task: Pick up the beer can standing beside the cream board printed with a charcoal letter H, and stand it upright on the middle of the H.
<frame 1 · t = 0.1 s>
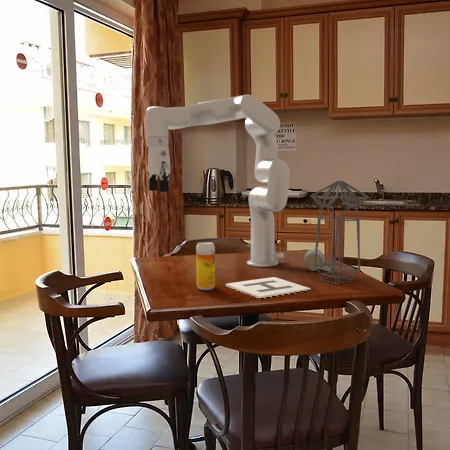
hand: (158, 191, 188), 31 cm above the table, tool pointing down, fingers open, 9 cm apart
beer can: (205, 288, 174), on the table
ceramic mug: (317, 270, 203), on the table
letter board: (267, 288, 173), on the table
geometric lantern: (337, 280, 184), on the table
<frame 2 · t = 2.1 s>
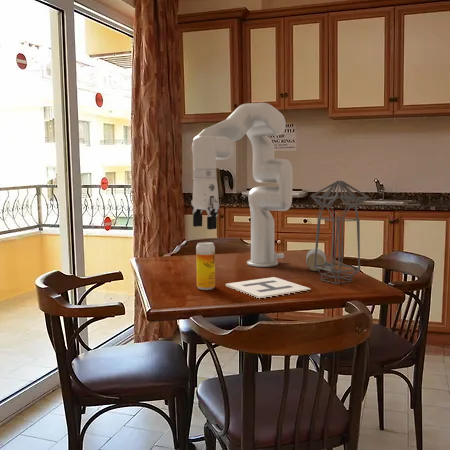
hand: (204, 227, 171), 20 cm above the table, tool pointing down, fingers open, 9 cm apart
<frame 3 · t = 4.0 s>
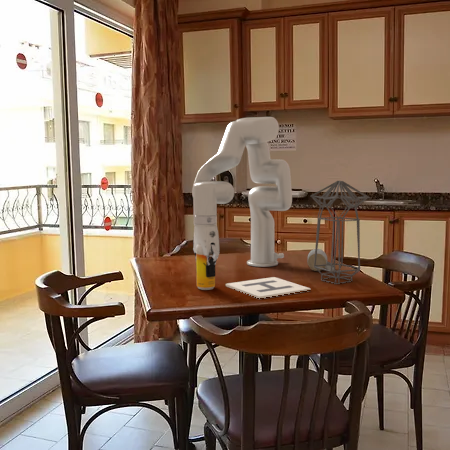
hand: (205, 274, 173), 5 cm above the table, tool pointing down, fingers closed on beer can, 6 cm apart
beer can: (205, 288, 174), on the table, touching gripper
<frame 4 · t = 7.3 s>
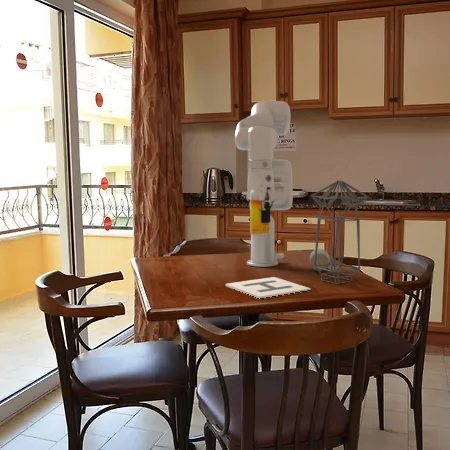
hand: (259, 221, 171), 22 cm above the table, tool pointing down, fingers closed on beer can, 6 cm apart
beer can: (259, 235, 171), point 17 cm above the table, touching gripper
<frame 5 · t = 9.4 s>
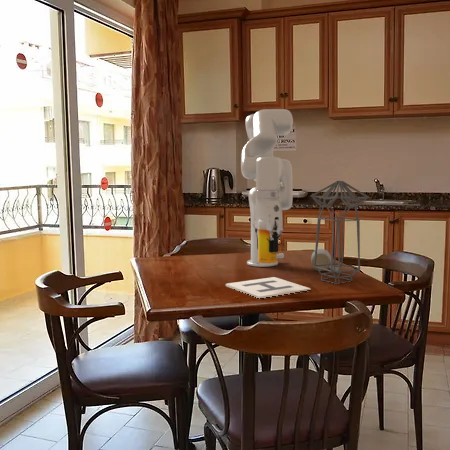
hand: (267, 250, 171), 13 cm above the table, tool pointing down, fingers closed on beer can, 6 cm apart
beer can: (267, 264, 172), point 8 cm above the table, touching gripper
when the fingers open (7 cm above the table, at t = 11.0 s): beer can drops 1 cm, resting on letter board.
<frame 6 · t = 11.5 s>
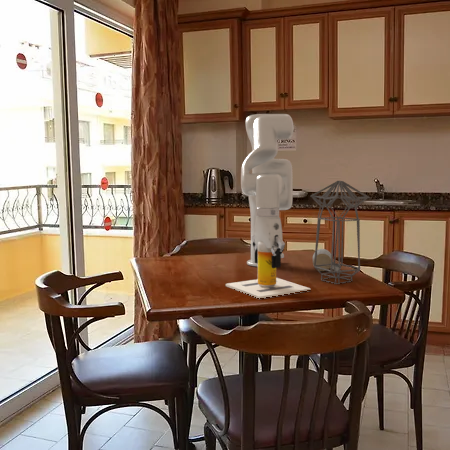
hand: (267, 265, 172), 8 cm above the table, tool pointing down, fingers open, 9 cm apart
beer can: (266, 286, 173), point 1 cm above the table, touching letter board
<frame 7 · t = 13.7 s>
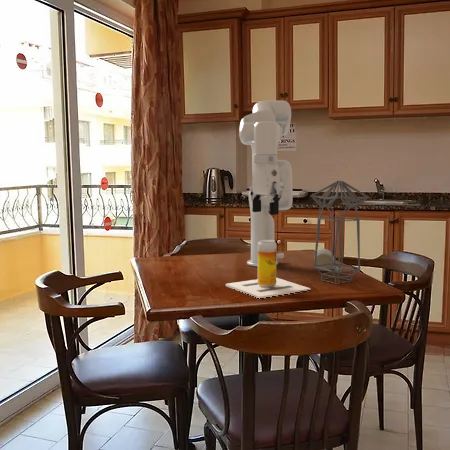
hand: (265, 213, 172), 25 cm above the table, tool pointing down, fingers open, 9 cm apart
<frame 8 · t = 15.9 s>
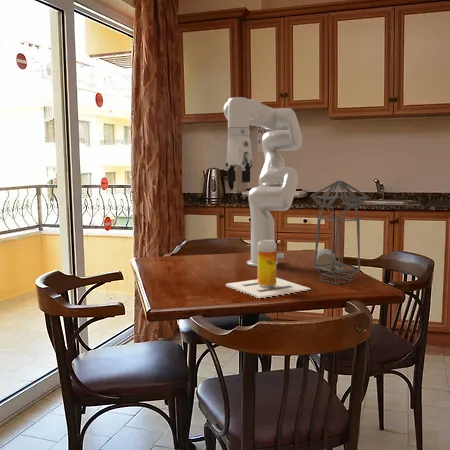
hand: (238, 181, 188), 34 cm above the table, tool pointing down, fingers open, 9 cm apart
at the end: beer can inside the target area on the letter board (0.3 cm from its centre), point 0.6 cm above the letter board's base; beer can tilted 0°; the gripper is holding nothing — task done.
